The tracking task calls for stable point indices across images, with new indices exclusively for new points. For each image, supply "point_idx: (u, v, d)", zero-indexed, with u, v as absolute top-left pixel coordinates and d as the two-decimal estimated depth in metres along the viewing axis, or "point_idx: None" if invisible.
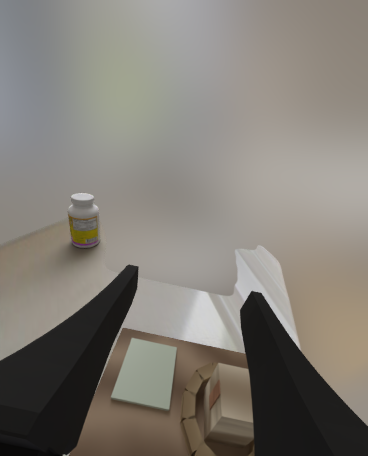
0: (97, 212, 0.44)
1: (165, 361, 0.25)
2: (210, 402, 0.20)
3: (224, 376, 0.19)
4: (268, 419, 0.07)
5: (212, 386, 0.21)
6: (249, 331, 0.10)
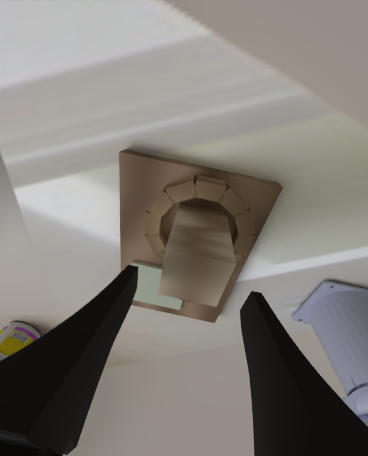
0: None
1: (148, 274, 0.22)
2: None
3: (175, 293, 0.13)
4: (268, 419, 0.07)
5: None
6: (249, 331, 0.10)
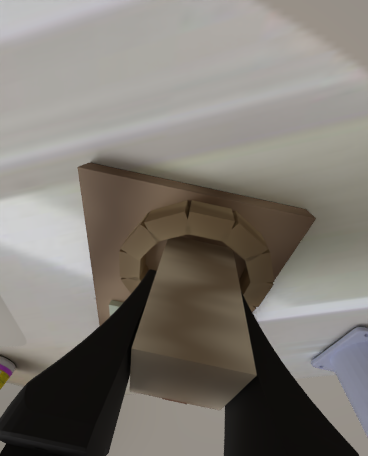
0: None
1: None
2: None
3: (156, 392, 0.08)
4: (236, 412, 0.07)
5: None
6: None
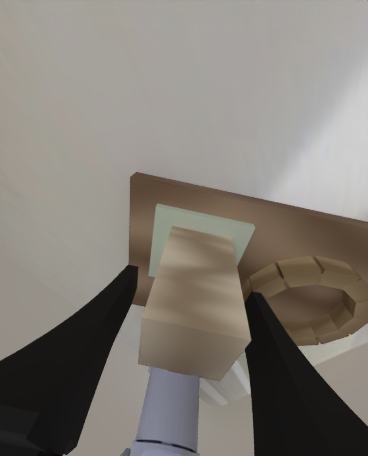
0: None
1: None
2: None
3: (162, 364, 0.09)
4: (268, 419, 0.07)
5: None
6: None
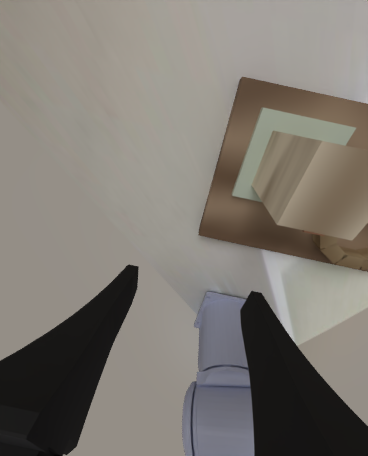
0: None
1: None
2: None
3: (303, 221, 0.10)
4: (268, 419, 0.07)
5: None
6: (249, 331, 0.10)
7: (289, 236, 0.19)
